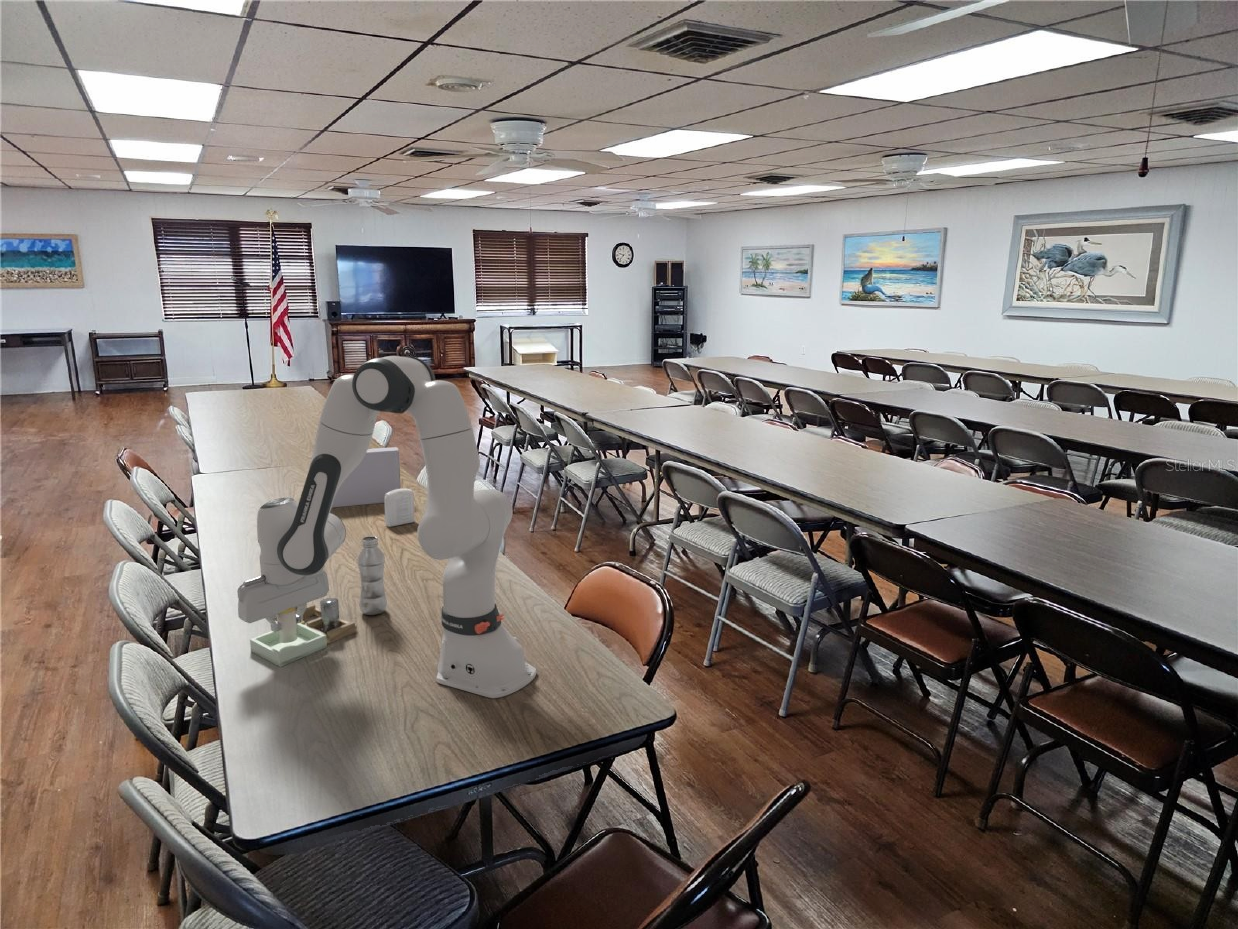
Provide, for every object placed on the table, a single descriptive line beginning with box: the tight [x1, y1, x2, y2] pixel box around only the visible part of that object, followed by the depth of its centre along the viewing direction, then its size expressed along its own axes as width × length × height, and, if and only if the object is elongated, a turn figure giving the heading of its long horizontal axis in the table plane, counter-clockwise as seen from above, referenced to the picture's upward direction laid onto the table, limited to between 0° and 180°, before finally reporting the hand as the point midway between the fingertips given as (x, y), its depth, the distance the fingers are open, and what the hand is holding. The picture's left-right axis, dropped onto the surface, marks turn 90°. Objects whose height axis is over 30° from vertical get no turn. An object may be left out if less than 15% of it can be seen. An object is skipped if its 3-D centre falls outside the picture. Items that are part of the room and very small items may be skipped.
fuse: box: [276, 607, 298, 643], centre depth 172 cm, size 4×4×8 cm
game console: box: [331, 446, 402, 509], centre depth 281 cm, size 6×27×20 cm, turn 115°
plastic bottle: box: [356, 535, 388, 616], centre depth 190 cm, size 6×7×20 cm
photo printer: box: [384, 487, 416, 528], centre depth 259 cm, size 10×4×12 cm, turn 134°
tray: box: [249, 623, 328, 668], centre depth 173 cm, size 12×12×3 cm
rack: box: [275, 603, 358, 644], centre depth 186 cm, size 25×8×2 cm, turn 55°
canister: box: [319, 597, 340, 634], centre depth 181 cm, size 4×4×8 cm
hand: (287, 626), depth 172 cm, fingers closed on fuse, 4 cm apart
